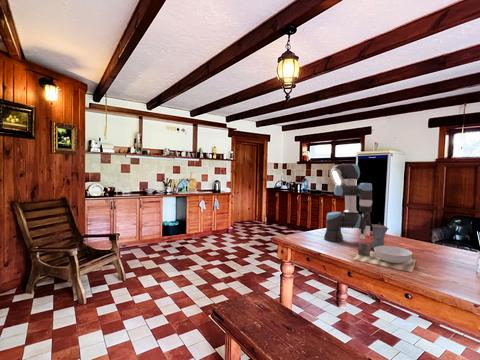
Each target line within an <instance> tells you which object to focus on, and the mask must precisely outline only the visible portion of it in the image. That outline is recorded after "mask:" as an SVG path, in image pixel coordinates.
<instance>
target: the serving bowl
mask: <svg viewBox="0 0 480 360" xmlns="http://www.w3.org/2000/svg"><path fill="white" fill-rule="evenodd" d="M373 250H374V251H373V252H375V254H376V255H377V256H378V257H379V258H380V259H382V260H384V261H387V262H390V263H405V262H407V261H409V260H410V259H412V257H413V252H412V251H411V250H409V249H407V248H403V247H399V246H392V245H384V246H377V247H375V248H374V249H373Z"/></svg>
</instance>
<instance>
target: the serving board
mask: <svg viewBox="0 0 480 360" xmlns="http://www.w3.org/2000/svg"><path fill="white" fill-rule="evenodd" d="M357 245H358V246H357V249H358V251H357V255H356V256H355V257H354V258H353V259H352V260H353V261H355V262H356V261H357V262H362V263H366V264H370V265H375V266H380V267H386V268H389V269H395V270H399V271H403V272H409V273H413V271H414V268H415V265H416V263H417V259H414V258H411V259H410V260H409V261H407V262H405V263H390V262H387V261H384V260H382V259H380V258H379V257H378V256H377V255H376V254H375V251H372V250H371V244H370V243H366V242H365V243H364V242H358V244H357Z"/></svg>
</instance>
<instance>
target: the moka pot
mask: <svg viewBox="0 0 480 360" xmlns="http://www.w3.org/2000/svg"><path fill="white" fill-rule="evenodd" d="M370 227H371V228H372V233H371V232H370V235H369V236H371V237H372V240H371V244H370V249H373V250H374V248H375V247H377V246H385V234H386V233H387V232H388V230H389V228H388V227H387V226H385V225H383V224H381V222H378V224H374V223H371V226H370Z"/></svg>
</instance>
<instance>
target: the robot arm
mask: <svg viewBox="0 0 480 360" xmlns="http://www.w3.org/2000/svg"><path fill="white" fill-rule="evenodd" d="M328 175H329V178H330V179H331V180H332V182H333V184H334V187H333V194H334V195H335V196H340V197H341V196H344V203H345V204H344V210H343V212H341V211H331V212H327V214H326V219H325V220H326V227H325V228H326V230H325V233H324V236H323V239H324V240H325V241H327V242H332V243H334V242H335V243H341V242H343V241H344V236H343V234H342V229H359V231H360V232H359V235H360V236H359V239H360V240H365V239H366V236H371V235H370V233H371V227H372V226H371V224H372V222H371V220H372V219H371V212H372V211H373V209H372V208H373V207H372V206H373V184H372V183H370V182H369V183H368V182H361V183H359V184H356V182H357V181H358V179H359V178H360V175H361V171H360V167H359V165H358V164H355V163H339V164H335V165H333V166H331V168H330V169H329V171H328ZM357 197H359V204H358V205H359V207H358V209H359V211H358V210H357ZM359 212H361V214H359Z"/></svg>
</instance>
